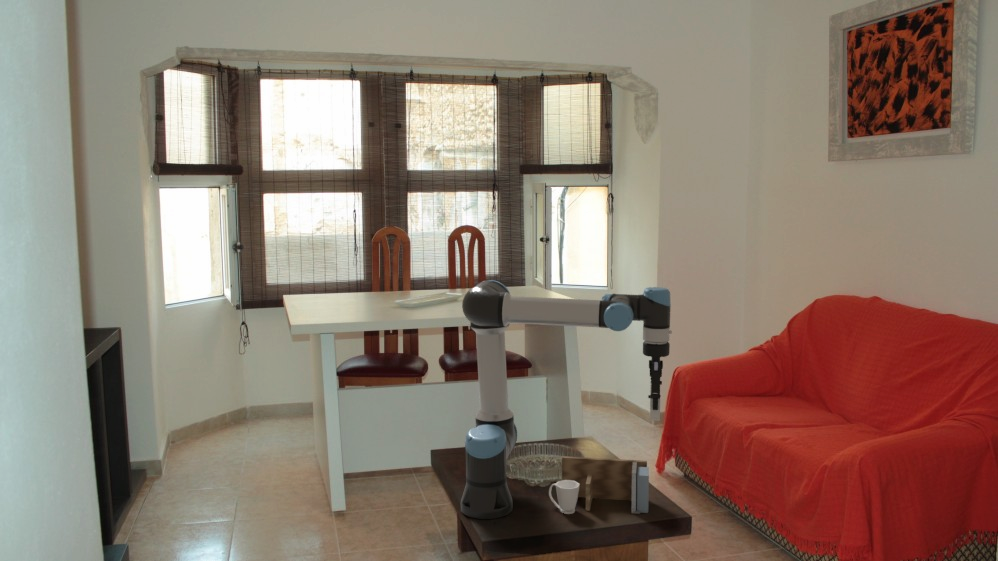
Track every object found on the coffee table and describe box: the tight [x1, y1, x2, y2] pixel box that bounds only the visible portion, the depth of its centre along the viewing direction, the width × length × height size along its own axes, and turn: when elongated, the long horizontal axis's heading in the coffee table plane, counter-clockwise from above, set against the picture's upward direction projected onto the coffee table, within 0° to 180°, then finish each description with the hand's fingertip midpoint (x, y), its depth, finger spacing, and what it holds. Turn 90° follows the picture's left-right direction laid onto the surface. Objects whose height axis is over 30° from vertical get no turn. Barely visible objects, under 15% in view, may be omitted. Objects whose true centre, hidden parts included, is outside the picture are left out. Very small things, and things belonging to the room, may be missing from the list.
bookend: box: [630, 462, 641, 515], centre depth 239 cm, size 2×9×12 cm, turn 169°
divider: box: [585, 474, 593, 511], centre depth 241 cm, size 1×8×8 cm, turn 169°
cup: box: [548, 480, 580, 515], centre depth 238 cm, size 7×10×8 cm
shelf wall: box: [561, 455, 648, 501], centre depth 246 cm, size 25×1×12 cm, turn 79°
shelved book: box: [637, 466, 650, 514], centre depth 239 cm, size 3×7×11 cm, turn 169°
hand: (654, 413), depth 240 cm, fingers open, 13 cm apart
